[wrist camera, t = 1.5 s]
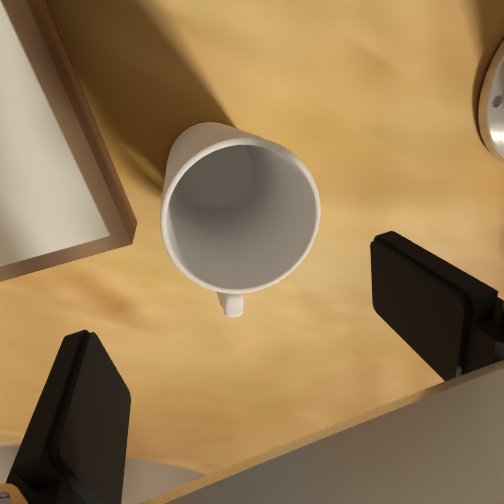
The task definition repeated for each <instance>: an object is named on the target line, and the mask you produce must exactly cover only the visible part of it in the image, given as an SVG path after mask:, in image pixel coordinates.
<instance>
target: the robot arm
mask: <svg viewBox="0 0 504 504" xmlns="http://www.w3.org/2000/svg"><path fill="white" fill-rule="evenodd" d="M478 112H479V127H480V133H481V136H482V139H483V141H484V143H485V146H486V147H487V148H488V150H489V151H490V152H491V153H492V154H493V155H494V156H496V157H497V158H499V159H500V160H503V161H504V40H503V42H502V43H501V45H500V47H499V49H498V50H497V52H496V54H495V55H494V57H493V59H492V62H491V64H490V66H489V69H488V71H487V73H486V76H485V79H484V83H483V86H482V89H481V94H480V101H479V107H478ZM370 250H371V275H372V300H373V307H374V309H375V311H376V313H377V314H378V315H379V316H380V317H381V318H382V319H383V320H384V321H385V322H386V323H387V324H388V325H389V326H390V327H391V328H392V329H393V330H394V331H395V332H396V333H397V334H398V335H399V336H400V337H401V338H402V339H403V340H404V341H405V342H406V343H407V344H408V345H409V346H410V347H411V348H412V349H413V350H414V351H415V352H416V353H417V354H418V355H419V356H420V357H421V358H422V359H423V360H424V361H425V362H426V363H427V364H428V365H429V366H430V367H431V368H432V369H433V370H434V371H435V372H436V373H437V374H438V375H439V376H440V377H441V378H442V379H443V380H444V381H445V382H443V383H440V384H437V385H435V386H432V387H430V388H427V389H425V390H422V391H420V392H417V393H414V394H412V395H409V396H407V397H404V398H402V399H399V400H396V401H394V402H391V403H389V404H386V405H384V406H381V407H379V408H376V409H373V410H371V411H368V412H366V413H363V414H361V415H358V416H356V417H353V418H351V419H348V420H346V421H343V422H341V423H338V424H336V425H333V426H331V427H328V428H325V429H323V430H320V431H318V432H315V433H313V434H310V435H308V436H305V437H303V438H300V439H298V440H295V441H293V442H290V443H288V444H285V445H283V446H280V447H278V448H275V449H273V450H270V451H268V452H265V453H263V454H260V455H258V456H255V457H253V458H250V459H248V460H245V461H243V462H240V463H238V464H235V465H233V466H230V467H228V468H226V469H223V470H221V471H218V472H216V473H213V474H211V475H208V476H206V477H203V478H201V479H198V480H196V481H194V482H191V483H189V484H186V485H183V486H181V487H179V488H176V489H174V490H171V491H169V492H167V493H164V494H161V495H159V496H157V497H154V498H152V499H149V500H147V501H145V502H143V503H140V504H504V300H502V299H500V298H498V297H497V295H498V291H497V290H495V289H493V288H492V287H490V286H488V285H486V284H485V283H483V282H481V281H479V280H478V279H476V278H474V277H473V276H471V275H469V274H467V273H466V272H464V271H462V270H460V269H459V268H457V267H455V266H453V265H452V264H450V263H448V262H446V261H445V260H443V259H441V258H439V257H438V256H436V255H434V254H432V253H431V252H429V251H427V250H426V249H424V248H422V247H420V246H419V245H417V244H415V243H413V242H412V241H410V240H408V239H406V238H405V237H403V236H401V235H399V234H398V233H396V232H394V231H389V232H386V233H383V234H380V235H377V236H375V238H374V241H372V242H371V244H370ZM130 405H131V396H130V392H129V390H128V388H127V386H126V384H125V383H124V381H123V379H122V377H121V376H120V374H119V372H118V371H117V369H116V367H115V365H114V364H113V362H112V360H111V359H110V357H109V355H108V353H107V352H106V350H105V348H104V347H103V345H102V343H101V341H100V340H99V338H98V336H97V335H96V333H94V332H91V333H89V332H88V331H87V330H82V331H79V332H76V333H73V334H70V335H67V336H65V337H64V339H63V341H62V344H61V346H60V349H59V351H58V354H57V356H56V359H55V361H54V364H53V366H52V369H51V371H50V374H49V376H48V379H47V381H46V384H45V386H44V389H43V391H42V394H41V396H40V398H39V401H38V403H37V406H36V408H35V411H34V413H33V416H32V418H31V421H30V423H29V426H28V428H27V431H26V433H25V436H24V438H23V441H22V443H21V446H20V448H19V451H18V453H17V456H16V458H15V461H14V463H13V466H12V468H11V471H10V473H9V476H8V478H7V481H6V483H4V484H0V504H121V498H122V487H123V478H124V466H125V457H126V446H127V436H128V426H129V415H130Z"/></svg>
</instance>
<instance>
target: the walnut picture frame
mask: <svg viewBox="0 0 504 504" xmlns="http://www.w3.org/2000/svg"><path fill="white" fill-rule="evenodd" d="M136 226H137V220H136V218H135V216H134V213H133V211H132V208H131V206H130V203H129V201H128V199H127V196H126V194H125V191H124V189H123V186H122V184H121V182H120V179H119V177H118V174H117V172H116V169H115V167H114V165H113V162H112V160H111V157H110V155H109V153H108V150H107V148H106V145H105V143H104V140H103V138H102V136H101V133H100V131H99V128H98V126H97V123H96V121H95V119H94V116H93V114H92V111H91V109H90V106H89V104H88V102H87V99H86V97H85V94H84V92H83V89H82V87H81V85H80V82H79V80H78V77H77V75H76V72H75V70H74V68H73V65H72V63H71V60H70V58H69V55H68V53H67V51H66V48H65V46H64V43H63V41H62V38H61V36H60V34H59V31H58V29H57V26H56V24H55V22H54V19H53V17H52V14H51V12H50V9H49V7H48V5H47V2H46V0H0V282H1V281H5V280H8V279H12V278H15V277H19V276H22V275H26V274H29V273H33V272H36V271H40V270H43V269H47V268H50V267H54V266H57V265H61V264H64V263H68V262H71V261H75V260H78V259H82V258H85V257H89V256H92V255H96V254H99V253H103V252H106V251H110V250H113V249H117V248H120V247H124V246H127V245H131V244H132V243H133V238H134V234H135V230H136Z"/></svg>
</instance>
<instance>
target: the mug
mask: <svg viewBox="0 0 504 504" xmlns="http://www.w3.org/2000/svg"><path fill="white" fill-rule="evenodd" d="M319 221H320V199H319V193H318V190H317V186H316V184H315V181H314V179H313V177H312V175H311V173H310V172H309V170H308V169H307V167H306V166H305V165H304V163H303V162H302V161H301V160H300V159H299V158H298V157H297V156H296V155H295V154H293V153H292V152H291V151H289V150H288V149H286V148H285V147H283V146H281V145H279V144H277V143H275V142H272V141H269V140H266V139H264V138H261V137H259V136H256V135H253V134H250V133H248V132H245V131H242V130H239V129H237V128H234V127H232V126H229V125H225V124H221V123H216V122H204V123H199V124H196V125H193V126H191V127H189V128H188V129H186V130H185V131H183V132H182V133H181V134H180V135H179V136H178V137H177V139H176V140H175V142H174V143H173V145H172V147H171V150H170V153H169V156H168V160H167V166H166V174H165V181H164V187H163V194H162V202H161V216H160V225H161V233H162V238H163V242H164V245H165V247H166V250H167V252H168V254H169V256H170V258H171V259H172V261H173V262H174V264H175V265H176V266H177V268H178V269H179V270H180V271H181V272H182V273H183V274H184V275H185V276H187V277H188V278H189V279H191V280H192V281H194V282H195V283H197V284H199V285H201V286H203V287H205V288H208V289H210V290H214V291H217V295H218V298H219V302H220V304H221V306H222V308H223V309H224V314H225V315H226V316H227V317H238V316H240V315H242V313H243V295H242V293H248V292H253V291H257V290H260V289H263V288H266V287H268V286H270V285H272V284H274V283H276V282H278V281H280V280H281V279H283V278H284V277H285V276H287V275H288V274H289V273H291V272H292V271H293V270H294V269H295V268H296V267H297V266H298V265H299V264H300V263H301V261H302V260H303V259H304V257H305V256H306V255H307V253H308V251H309V250H310V248H311V246H312V244H313V242H314V240H315V237H316V234H317V231H318V227H319Z"/></svg>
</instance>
